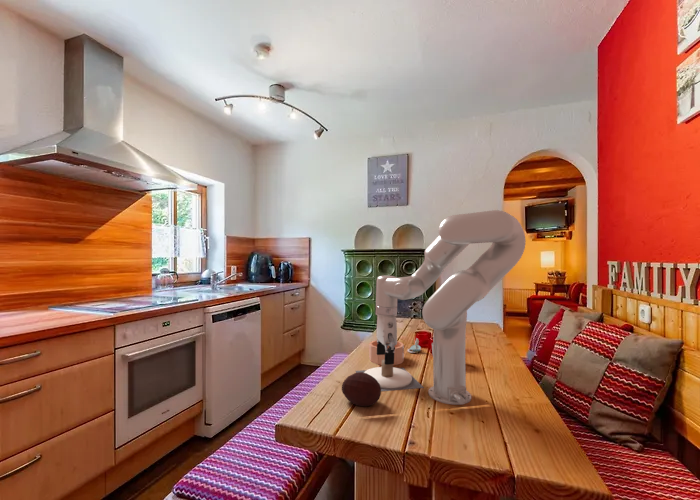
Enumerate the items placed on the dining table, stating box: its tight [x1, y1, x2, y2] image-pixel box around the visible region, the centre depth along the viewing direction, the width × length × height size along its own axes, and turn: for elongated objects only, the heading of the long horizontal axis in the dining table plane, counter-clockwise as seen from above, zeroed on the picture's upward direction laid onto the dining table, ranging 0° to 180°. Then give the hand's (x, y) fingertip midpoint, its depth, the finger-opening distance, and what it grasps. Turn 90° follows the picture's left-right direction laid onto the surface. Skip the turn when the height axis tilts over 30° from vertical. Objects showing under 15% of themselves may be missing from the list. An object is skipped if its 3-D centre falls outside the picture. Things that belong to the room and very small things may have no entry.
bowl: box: [368, 339, 405, 366], centre depth 130 cm, size 14×14×7 cm
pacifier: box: [407, 337, 422, 354], centre depth 143 cm, size 7×6×6 cm
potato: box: [341, 372, 382, 407], centre depth 91 cm, size 9×12×9 cm
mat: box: [355, 367, 425, 392], centre depth 109 cm, size 19×19×1 cm
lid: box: [364, 359, 413, 389], centre depth 109 cm, size 17×17×6 cm
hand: (384, 359), depth 109 cm, fingers open, 9 cm apart
